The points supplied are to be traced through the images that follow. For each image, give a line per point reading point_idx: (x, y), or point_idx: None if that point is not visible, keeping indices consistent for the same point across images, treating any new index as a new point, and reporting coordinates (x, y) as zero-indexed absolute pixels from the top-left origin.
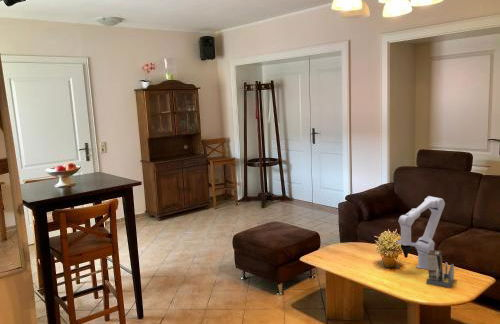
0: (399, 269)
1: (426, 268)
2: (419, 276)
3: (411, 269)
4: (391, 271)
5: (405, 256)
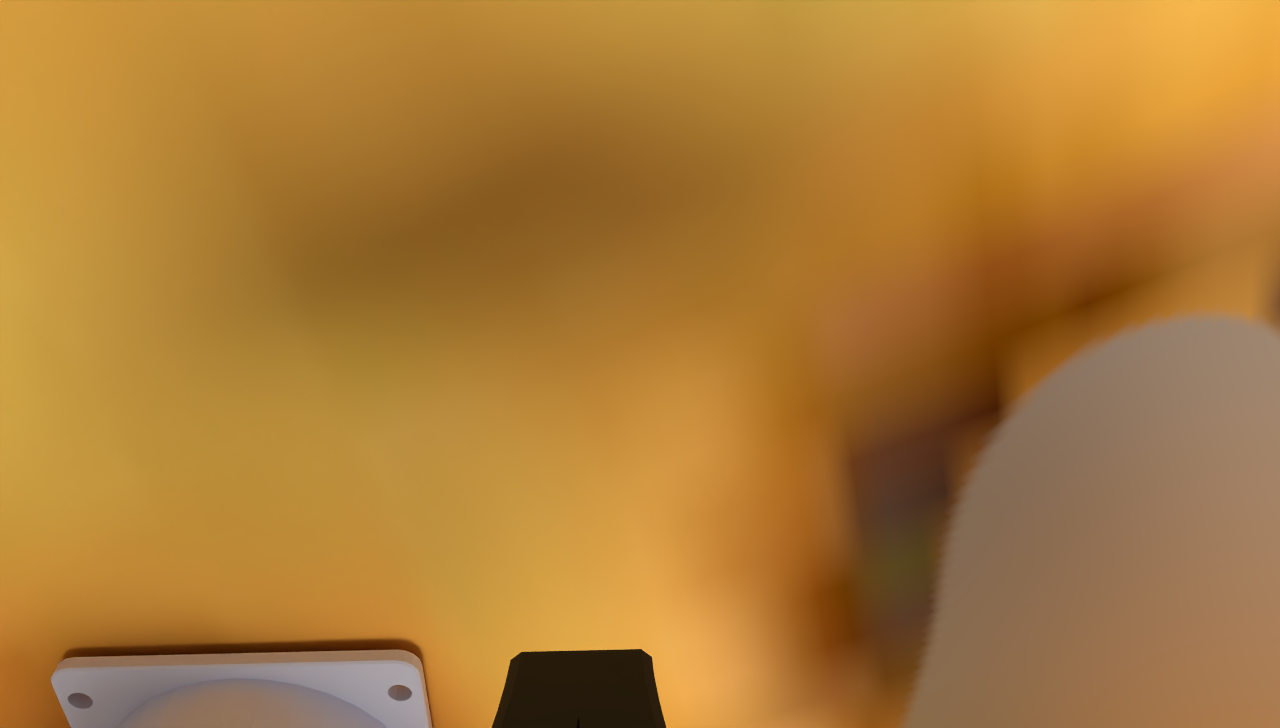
0: (829, 379)
1: (146, 668)
2: (73, 105)
3: (502, 507)
4: (1072, 121)
5: (588, 696)
